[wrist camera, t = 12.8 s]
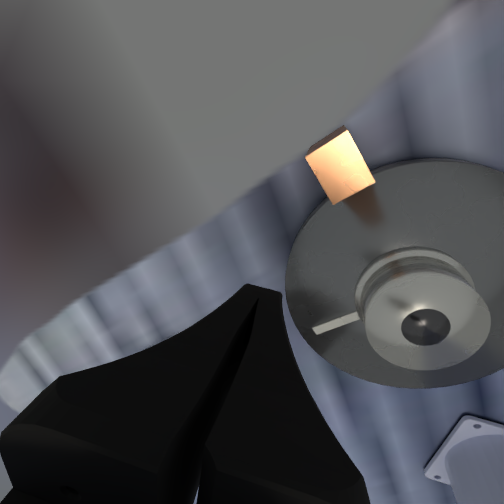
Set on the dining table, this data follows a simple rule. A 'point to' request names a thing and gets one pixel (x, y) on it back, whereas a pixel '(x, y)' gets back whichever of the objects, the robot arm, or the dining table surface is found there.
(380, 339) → the cover
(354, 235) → the turntable
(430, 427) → the dining table surface
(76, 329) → the dining table surface
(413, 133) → the dining table surface
